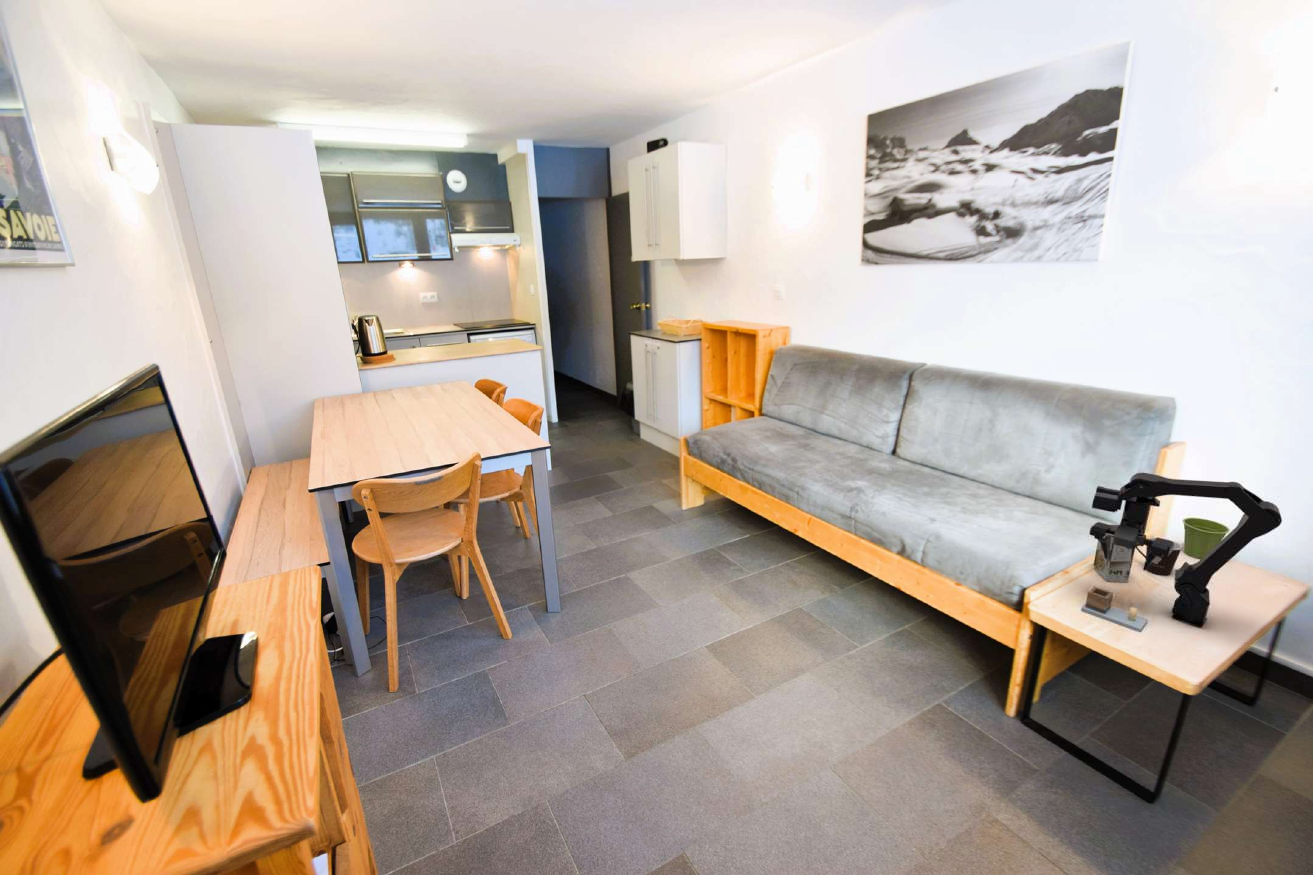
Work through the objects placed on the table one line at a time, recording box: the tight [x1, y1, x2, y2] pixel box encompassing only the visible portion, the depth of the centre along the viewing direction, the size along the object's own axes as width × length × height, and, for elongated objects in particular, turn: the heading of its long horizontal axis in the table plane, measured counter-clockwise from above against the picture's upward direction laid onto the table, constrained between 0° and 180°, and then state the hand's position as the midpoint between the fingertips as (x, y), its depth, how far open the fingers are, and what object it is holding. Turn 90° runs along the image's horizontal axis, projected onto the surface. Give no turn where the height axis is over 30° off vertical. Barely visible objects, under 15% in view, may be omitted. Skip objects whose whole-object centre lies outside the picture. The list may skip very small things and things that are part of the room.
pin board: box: [1080, 603, 1149, 633], centre depth 168 cm, size 14×7×4 cm, turn 38°
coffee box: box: [1092, 524, 1136, 584], centre depth 188 cm, size 9×6×16 cm
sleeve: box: [1084, 586, 1114, 614], centre depth 171 cm, size 5×5×5 cm
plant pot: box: [1182, 517, 1231, 560], centre depth 198 cm, size 12×12×11 cm
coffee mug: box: [1135, 537, 1183, 577], centre depth 191 cm, size 12×9×10 cm
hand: (1124, 564), depth 173 cm, fingers open, 9 cm apart
